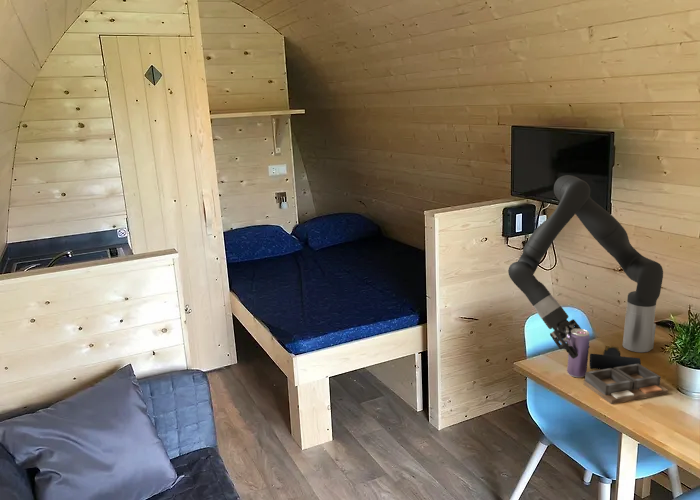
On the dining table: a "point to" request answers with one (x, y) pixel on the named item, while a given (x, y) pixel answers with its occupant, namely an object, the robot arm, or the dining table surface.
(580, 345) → the beverage can
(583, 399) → the dining table surface
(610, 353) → the pipe connector
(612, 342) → the dining table surface
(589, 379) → the socket board
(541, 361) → the dining table surface
